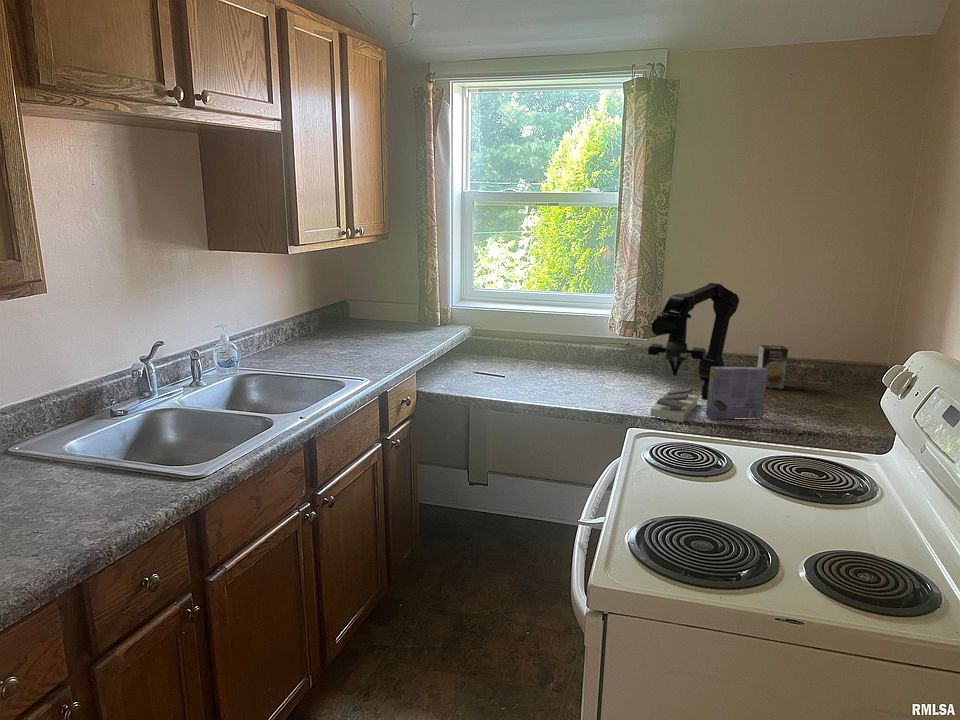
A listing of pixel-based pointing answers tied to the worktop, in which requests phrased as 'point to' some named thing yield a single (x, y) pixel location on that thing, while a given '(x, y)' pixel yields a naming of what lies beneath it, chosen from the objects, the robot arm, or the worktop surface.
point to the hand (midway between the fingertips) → (675, 375)
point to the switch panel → (675, 413)
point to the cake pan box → (736, 392)
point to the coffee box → (773, 364)
